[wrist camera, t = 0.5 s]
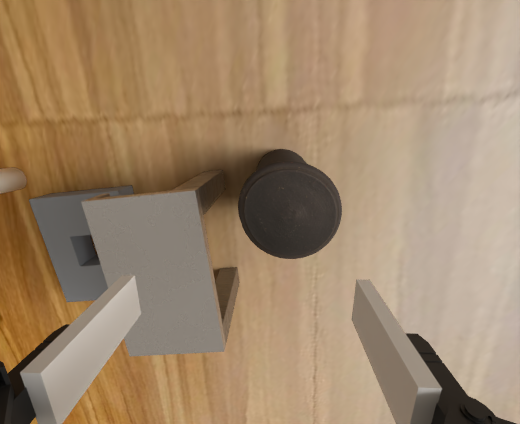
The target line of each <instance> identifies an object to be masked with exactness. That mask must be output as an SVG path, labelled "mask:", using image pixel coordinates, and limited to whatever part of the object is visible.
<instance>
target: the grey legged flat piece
mask: <svg viewBox="0 0 520 424" xmlns="http://www.w3.org/2000/svg"><path fill="white" fill-rule="evenodd" d="M225 189H226V188H225V181H224V174H223V170H216V171H206V172H203V173H201V174H199V175H197V176H196V177H194V178H192V179H190V180H188V181H187V182H185V183H183V184H181V185H180V186H178V187H176V188H174V189H173V190H171V191H164V192H153V193H143V194H133V195H123V196H113V197H110V193H106V194H101V195H98V196H95V197H93V198H90V199H87V200H84V201H81V203H82V207H83V210H84V213H85V216H86V219H87V222H88V226H89V229H90V232H91V235H92V238H93V241H94V245H95V248H96V251H97V254H98V257H99V260H100V264H101V267H102V270H103V273H104V276H105V280H106V283H107V286H108V288H109V287H110V286H111V285H112V284H113V283H114V282H116V281H117V280H118V279H119V278H120V277H121V276H122V275H135V280H136V286H137V292H138V298H139V304H140V310H141V315H140V316H139V317H138V319H137V320H136V322H135V323H134V324H133V326H132V327H131V329H130V330H129V331H128V333H127V334H126V336H125V337H124V340H125V343H126V346H127V349H128V352H129V356H146V355H166V354H186V353H205V352H224V351H225V346H226V342H227V337H228V333H229V328H230V323H231V319H232V314H233V310H234V305H235V300H236V296H237V291H238V287H239V276H238V269H237V267H235V268H222V269H220V271H219V273H218V276H217V278H216V281H215V279H214V273H213V268H212V262H211V256H210V251H209V245H208V240H207V234H206V228H205V223H204V217H203V215H204V214H205V213H206V212H207V210H208V209H209V208H210V207H211V206H212V204H213V203H214V202H215V201H216V200H217V198H218V197H219V196H220V195H221V194H222V192H223V191H224V190H225Z"/></svg>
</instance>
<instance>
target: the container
mask: <svg viewBox="0 0 520 424" xmlns="http://www.w3.org/2000/svg"><path fill="white" fill-rule="evenodd" d="M238 210H239V217H240V220H241V222H242V226H243V229H244V231H245V233H246V234H247V236H248V237H249V238H250V240H251V241H252V242H253V243H254V244H255V245H256V246H257V247H258V248H260V249H261V250H263V251H264V252H266V253H268V254H270V255H273V256H275V257H279V258H285V259H297V258H303V257H306V256H309V255H312V254H314V253H316V252H318V251H319V250H321V249H322V248H323V247H325V246H326V245H327V244H328V243H329V242H330V240H331V239H332V238H333V237H334V235H335V233H336V232H337V229H338V227H339V224H340V220H341V215H342V206H341V200H340V196H339V193H338V191H337V189H336V187H335V185H334V183H333V182H332V181H331V180H330V178H329V177H328V176H327V175H326V174H324V173H323V172H322V171H320V170H319V169H317V168H315V167H313V166H311V165H308V164H307V163H306V162H305V161H304V160H303V158H302V157H300V156H299V155H298V154H296V153H295V152H293V151H290V150H285V149H278V150H274V151H271V152H270V153H268V154H266V155H265V156H264V157H263V158H262V159H261V161H260V162H259V164H258V166H257V169H256V172H254V173H253V174H252V175H251V176H250V177H249V178H248V179H247V181H246V182H245V184H244V186H243V188H242V190H241V193H240V197H239V203H238Z"/></svg>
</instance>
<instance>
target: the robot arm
mask: <svg viewBox="0 0 520 424" xmlns="http://www.w3.org/2000/svg"><path fill="white" fill-rule="evenodd" d="M140 315H141V310H140V304H139V298H138V292H137V286H136V280H135V275H122V276H121V277H120V278H119V279H118V280H117V281H116V282H114V283H113V284H112V285H111V286H110V287H109V288H108V289H107V290H106V291H105V292H104V293H103V294H102V295H101V296H100V297H99V298H98V299H97V300H96V301H95V302H94V303H92V304H91V305H90V306H89V307H88V308H87V309H86V310H85V311H84V312H83V313H82V314H81V315H80V316H79V317H78V318H77V319H76V320H75V321H74V322H73V323H72V324H70V325H64V326H62V327H61V328H59V329H58V330H56V331H54V332H53V333H52V334H51V335H50V336H48V337H47V338H46V339H45V340H44V341H43V343H41V344H40V345H39V346H37V347H36V348H35V350H33V351H32V352H31V353H30V354H29V355H28V356H27V357H25V358H24V359H23V360H22V361H21V362H20V363H19V364H18V365H17V366H16V367H15V368H13V369H12V370H11V371H10V372H9V373H8V374H7V371H6V369H5V366H4V363H3V362H1V361H0V424H30V423H31V422H32V420H33V419H34V418H35V417H36V419H37V422H38V424H62V423H63V422H64V420H65V419H66V417H67V416H68V415H69V413H70V412H71V411H72V409H73V408H74V406H75V405H76V404H77V402H78V401H79V399H80V398H81V397H82V395H83V394H84V392H85V391H86V390H87V388H88V387H89V386H90V384H91V383H92V381H93V380H94V379H95V377H96V376H97V374H98V373H99V372H100V370H101V369H102V367H103V366H104V365H105V363H106V362H107V361H108V359H109V358H110V356H111V355H112V354H113V352H114V351H115V349H116V348H117V347H118V345H119V344H120V342H121V341H122V340H123V338H124V337H125V336H126V334H127V333H128V331H129V330H130V329H131V327H132V326H133V324H134V323H135V322H136V320H137V319H138V317H139V316H140ZM352 321H353V324H354V326H355V328H356V331H357V333H358V335H359V338H360V340H361V342H362V345H363V347H364V349H365V352H366V354H367V356H368V359H369V361H370V363H371V366H372V368H373V371H374V373H375V375H376V378H377V380H378V382H379V385H380V387H381V389H382V392H383V394H384V396H385V399H386V401H387V403H388V406H389V408H390V410H391V413H392V415H393V417H394V420H395V422H396V424H516V423H513V422H510V421H506V420H503V419H501V418H498V417H496V416H495V415H494V414H493V412H492V411H490V410H489V409H488V408H487V407H486V406H485V405H484V404H482V403H481V402H479V401H477V400H476V399H473V398H471V397H469V396H468V395H467V394H466V393H465V391H464V390H463V389H462V387H461V386H460V385H459V383H458V382H457V381H456V379H455V378H454V377H453V375H452V374H451V373H450V371H449V370H448V368H447V367H446V366H445V364H444V363H442V360H441V359H440V358H439V356H438V355H436V352H435V351H434V350H433V348H432V347H431V346H430V344H429V343H428V342H427V341H426V340H424V339H423V338H422V337H421V336H419V335H418V334H406V333H405V332H404V331H403V329H402V328H401V326H400V325H399V323H398V322H397V320H396V319H395V317H394V316H393V314H392V312H391V311H390V309H389V308H388V306H387V305H386V303H385V302H384V300H383V299H382V297H381V296H380V294H379V293H378V291H377V290H376V288H375V287H374V285H373V284H372V282H371V281H370V280H356V287H355V296H354V304H353V312H352Z"/></svg>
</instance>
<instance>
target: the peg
mask: <svg viewBox="0 0 520 424" xmlns="http://www.w3.org/2000/svg"><path fill="white" fill-rule="evenodd" d="M26 183H27V180H26V177H25V175H24V173H23V172H22V171H21V170H19V169H17V168H14V167H11V168H4V169H0V194H2V193H6V192H10V191H15V190H19V189H23V188H24V187H25V186H26Z"/></svg>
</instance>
